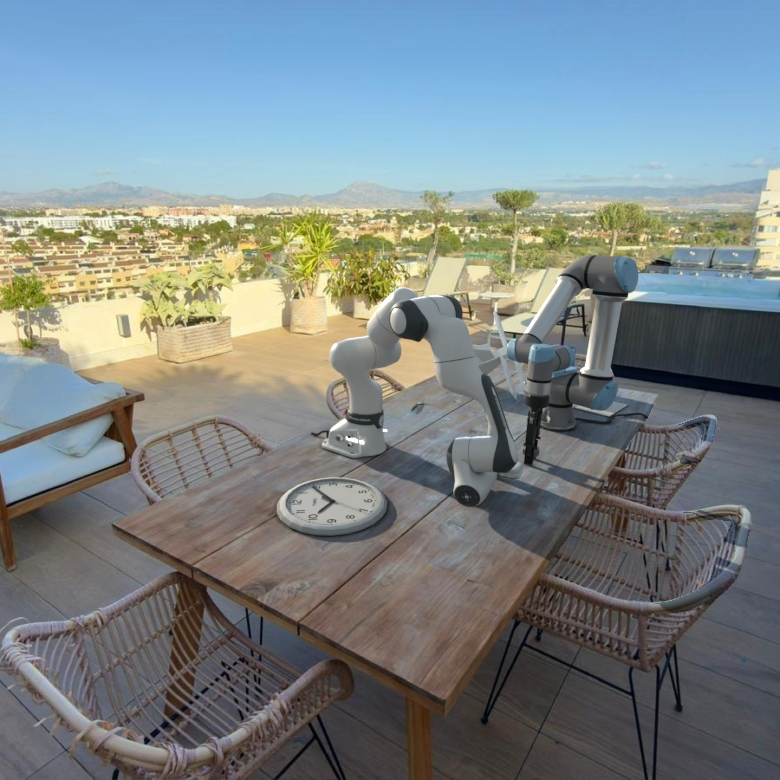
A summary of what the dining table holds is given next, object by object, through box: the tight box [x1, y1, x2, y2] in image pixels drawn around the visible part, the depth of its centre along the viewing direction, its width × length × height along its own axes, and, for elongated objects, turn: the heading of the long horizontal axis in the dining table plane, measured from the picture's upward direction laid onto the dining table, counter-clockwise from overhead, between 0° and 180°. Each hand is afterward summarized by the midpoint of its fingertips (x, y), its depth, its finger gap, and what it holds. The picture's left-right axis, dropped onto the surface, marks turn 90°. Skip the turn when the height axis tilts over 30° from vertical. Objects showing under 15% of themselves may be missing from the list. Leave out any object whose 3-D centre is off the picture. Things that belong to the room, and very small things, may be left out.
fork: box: [410, 395, 425, 412], centre depth 222 cm, size 3×16×2 cm, turn 160°
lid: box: [522, 445, 540, 458], centre depth 171 cm, size 5×5×2 cm
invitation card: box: [573, 400, 629, 418], centre depth 226 cm, size 21×1×15 cm
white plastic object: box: [473, 310, 527, 400], centre depth 245 cm, size 37×45×31 cm
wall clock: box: [276, 476, 388, 537], centre depth 142 cm, size 30×2×30 cm
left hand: (493, 454), depth 162 cm, fingers closed on jar, 4 cm apart
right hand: (530, 460), depth 172 cm, fingers closed on lid, 5 cm apart
